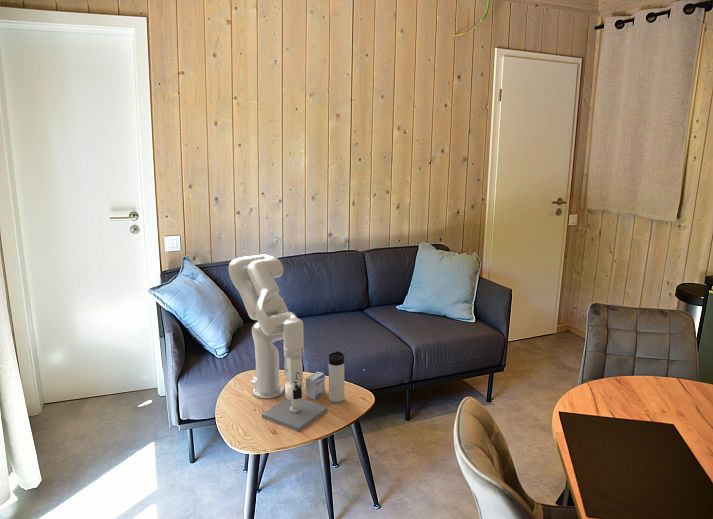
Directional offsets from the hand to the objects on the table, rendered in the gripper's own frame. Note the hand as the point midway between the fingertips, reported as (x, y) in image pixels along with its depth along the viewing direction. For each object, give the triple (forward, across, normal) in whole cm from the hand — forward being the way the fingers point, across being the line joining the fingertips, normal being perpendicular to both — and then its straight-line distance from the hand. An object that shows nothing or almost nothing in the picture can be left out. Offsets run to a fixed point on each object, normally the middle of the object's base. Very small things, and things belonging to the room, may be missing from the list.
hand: (294, 393), depth 208 cm
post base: (+9, 0, 0) cm, 9 cm away
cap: (+1, 0, 0) cm, 1 cm away
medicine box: (+9, -12, +12) cm, 19 cm away
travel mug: (+9, -4, +19) cm, 21 cm away
